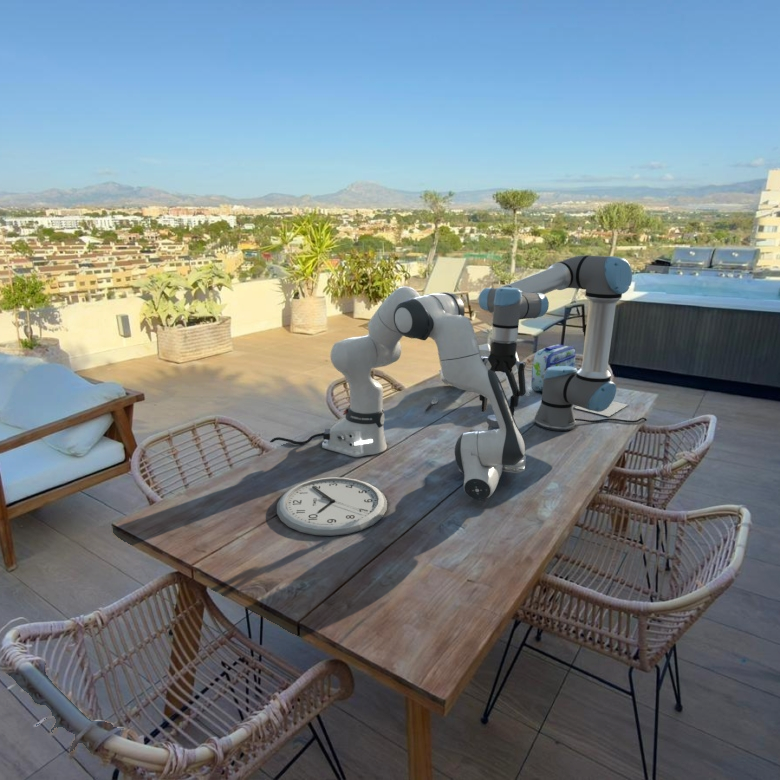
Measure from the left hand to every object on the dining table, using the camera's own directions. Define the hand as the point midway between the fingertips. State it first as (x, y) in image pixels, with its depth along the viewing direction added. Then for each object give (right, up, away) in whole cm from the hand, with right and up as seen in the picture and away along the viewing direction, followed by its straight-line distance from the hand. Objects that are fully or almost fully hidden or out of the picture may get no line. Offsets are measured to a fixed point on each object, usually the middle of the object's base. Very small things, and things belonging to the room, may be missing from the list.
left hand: (495, 448), depth 165 cm
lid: (0, +10, -4) cm, 10 cm away
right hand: (0, +11, -5) cm, 12 cm away
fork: (-16, +11, +57) cm, 61 cm away
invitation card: (+58, +11, +61) cm, 85 cm away
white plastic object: (+8, +17, +78) cm, 80 cm away
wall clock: (-49, -13, -23) cm, 56 cm away
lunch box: (+44, +19, +84) cm, 97 cm away
